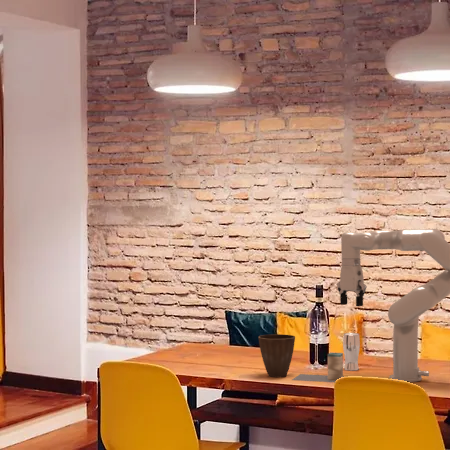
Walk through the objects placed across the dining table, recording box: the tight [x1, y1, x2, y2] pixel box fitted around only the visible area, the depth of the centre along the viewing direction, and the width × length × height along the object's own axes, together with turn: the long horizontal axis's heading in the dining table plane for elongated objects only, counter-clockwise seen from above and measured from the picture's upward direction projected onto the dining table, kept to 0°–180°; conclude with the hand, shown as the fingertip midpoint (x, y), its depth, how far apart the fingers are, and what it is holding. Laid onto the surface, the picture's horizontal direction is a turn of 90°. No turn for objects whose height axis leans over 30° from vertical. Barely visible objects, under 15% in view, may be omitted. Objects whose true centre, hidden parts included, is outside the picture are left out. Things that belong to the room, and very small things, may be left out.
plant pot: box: [258, 333, 296, 378], centre depth 400 cm, size 15×15×16 cm
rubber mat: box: [291, 373, 344, 383], centre depth 390 cm, size 22×14×1 cm, turn 71°
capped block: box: [327, 352, 344, 380], centre depth 388 cm, size 5×5×10 cm
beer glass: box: [342, 332, 361, 372], centre depth 413 cm, size 7×7×15 cm
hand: (351, 305), depth 397 cm, fingers open, 9 cm apart
